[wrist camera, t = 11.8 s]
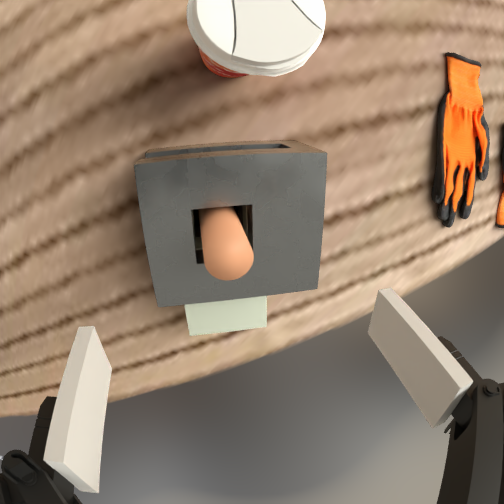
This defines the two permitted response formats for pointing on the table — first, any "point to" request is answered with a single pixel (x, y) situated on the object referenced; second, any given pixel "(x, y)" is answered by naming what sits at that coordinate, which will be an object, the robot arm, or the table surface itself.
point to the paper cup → (256, 34)
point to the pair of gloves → (461, 142)
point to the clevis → (258, 216)
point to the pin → (224, 243)
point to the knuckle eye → (226, 308)
